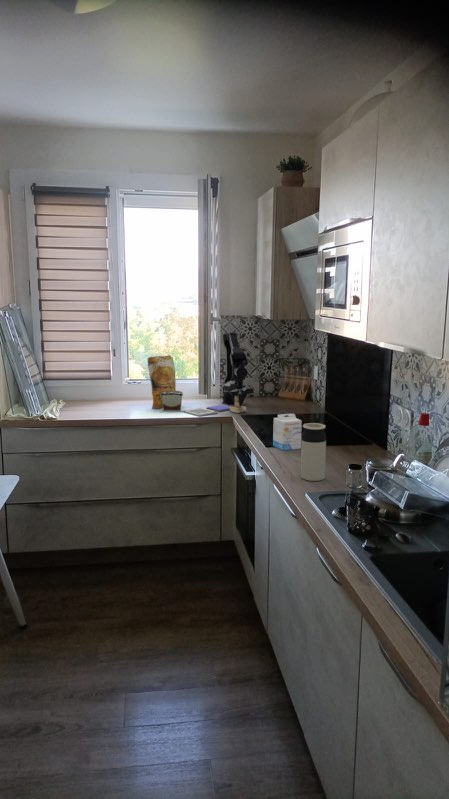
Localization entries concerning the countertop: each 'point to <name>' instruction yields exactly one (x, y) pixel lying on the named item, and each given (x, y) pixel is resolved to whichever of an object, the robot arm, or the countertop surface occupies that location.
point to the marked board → (200, 412)
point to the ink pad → (219, 408)
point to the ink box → (287, 432)
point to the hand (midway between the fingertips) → (238, 405)
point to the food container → (171, 400)
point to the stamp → (237, 407)
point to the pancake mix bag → (161, 377)
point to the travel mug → (313, 452)
